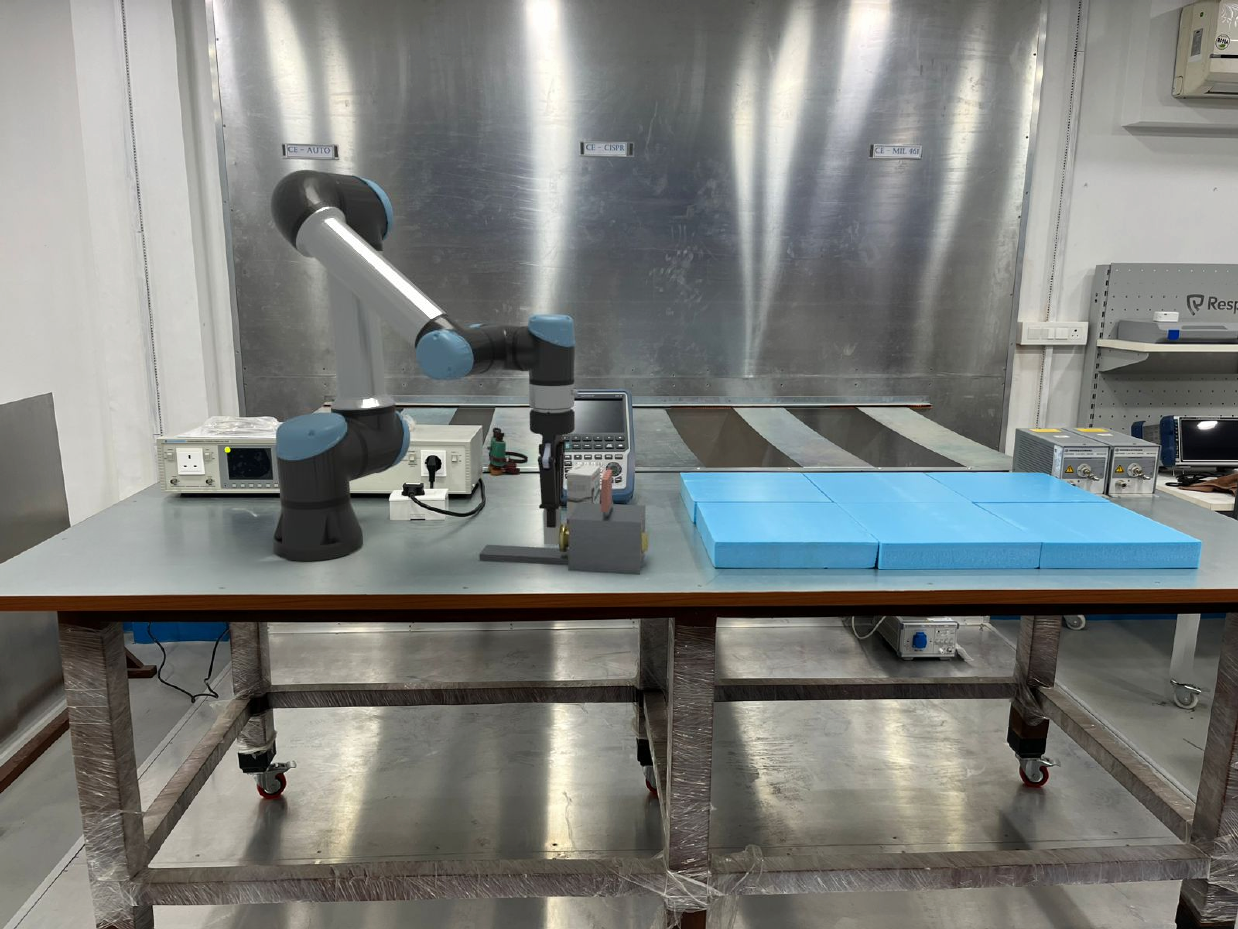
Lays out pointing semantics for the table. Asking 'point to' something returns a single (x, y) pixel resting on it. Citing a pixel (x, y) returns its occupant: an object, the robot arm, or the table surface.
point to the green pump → (502, 455)
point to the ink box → (582, 486)
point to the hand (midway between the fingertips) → (552, 543)
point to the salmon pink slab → (606, 493)
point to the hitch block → (588, 542)
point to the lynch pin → (565, 539)
